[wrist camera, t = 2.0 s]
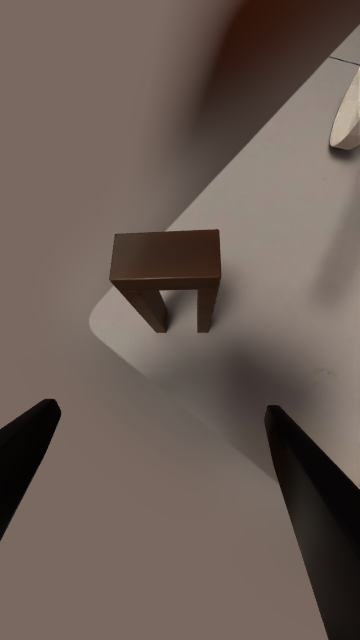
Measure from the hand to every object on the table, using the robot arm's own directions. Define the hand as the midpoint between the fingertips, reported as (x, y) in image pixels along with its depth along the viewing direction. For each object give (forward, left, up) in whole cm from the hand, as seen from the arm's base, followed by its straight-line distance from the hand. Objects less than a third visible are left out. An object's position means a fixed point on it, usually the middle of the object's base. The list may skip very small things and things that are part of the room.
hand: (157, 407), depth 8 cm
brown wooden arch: (+7, +4, -13) cm, 15 cm away
